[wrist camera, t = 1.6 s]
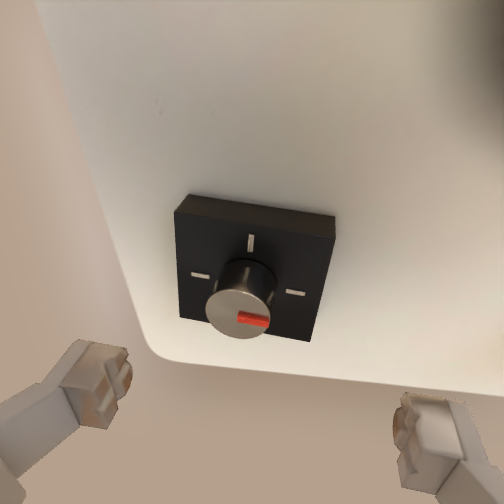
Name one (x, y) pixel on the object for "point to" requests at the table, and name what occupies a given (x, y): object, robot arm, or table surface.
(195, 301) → the dimmer panel
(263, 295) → the dimmer knob
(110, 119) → the table surface
